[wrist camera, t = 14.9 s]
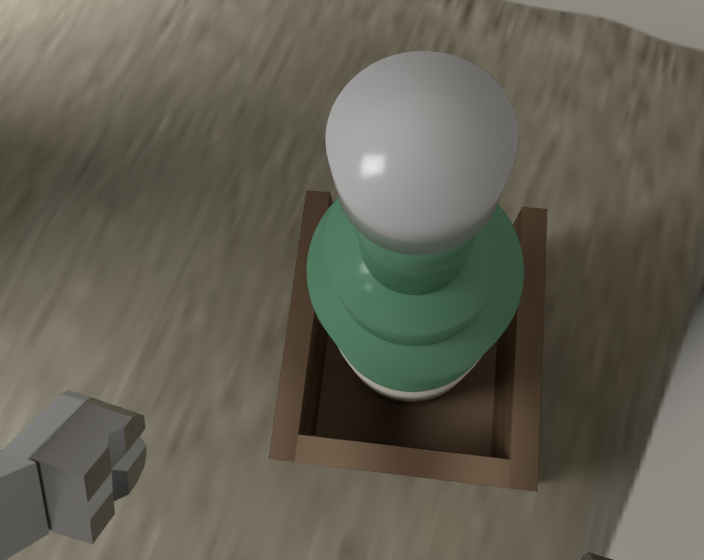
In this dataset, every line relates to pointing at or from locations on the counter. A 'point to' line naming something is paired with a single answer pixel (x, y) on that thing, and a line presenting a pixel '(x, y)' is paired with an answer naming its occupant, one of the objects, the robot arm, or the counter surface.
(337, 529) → the counter surface
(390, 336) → the green bottle
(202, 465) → the counter surface
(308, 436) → the bottle stand
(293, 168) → the counter surface
